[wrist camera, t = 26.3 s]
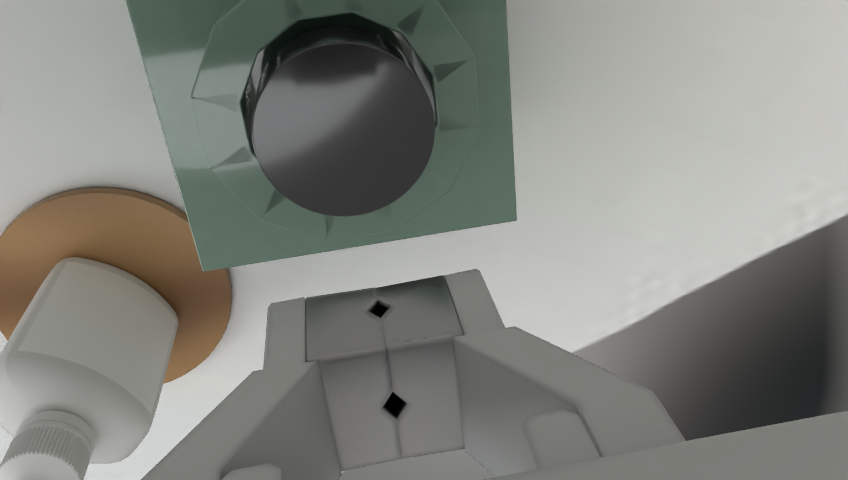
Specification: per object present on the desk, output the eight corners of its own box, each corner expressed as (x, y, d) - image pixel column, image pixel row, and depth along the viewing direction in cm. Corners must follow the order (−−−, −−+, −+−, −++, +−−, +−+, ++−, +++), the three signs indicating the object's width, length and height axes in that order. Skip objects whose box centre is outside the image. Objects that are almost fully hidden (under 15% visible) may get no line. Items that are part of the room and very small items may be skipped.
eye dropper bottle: (124, 229, 31) (34, 423, 20) (191, 330, 33) (143, 548, 23) (28, 269, 31) (-110, 482, 20) (103, 366, 34) (15, 599, 23)
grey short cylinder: (238, 36, 18) (232, 56, 17) (413, 12, 19) (426, 28, 17) (273, 197, 20) (271, 230, 19) (430, 172, 21) (443, 202, 19)
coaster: (-49, 207, 30) (-55, 213, 29) (202, 169, 31) (200, 175, 30) (37, 400, 35) (34, 408, 34) (253, 362, 35) (252, 370, 35)
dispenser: (161, -97, 26) (82, -70, 16) (440, -130, 27) (520, -123, 17) (226, 165, 31) (194, 306, 21) (462, 130, 32) (534, 250, 22)
